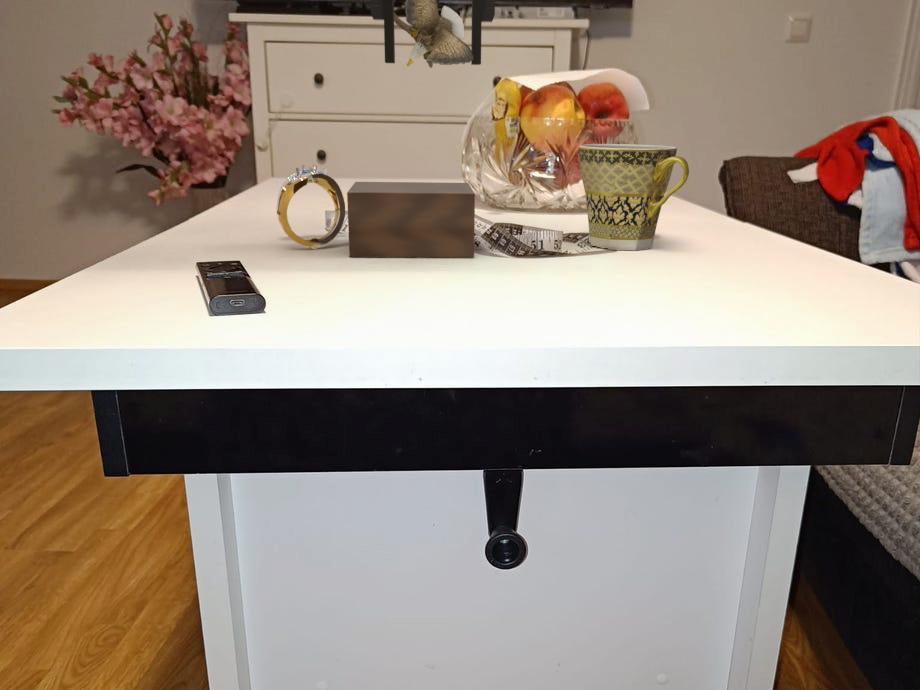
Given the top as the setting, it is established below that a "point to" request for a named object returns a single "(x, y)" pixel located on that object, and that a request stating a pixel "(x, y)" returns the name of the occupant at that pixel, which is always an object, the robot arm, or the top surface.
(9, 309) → the top surface
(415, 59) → the eagle figurine
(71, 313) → the top surface
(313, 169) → the ring
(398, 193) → the walnut block
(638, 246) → the ceramic cup
